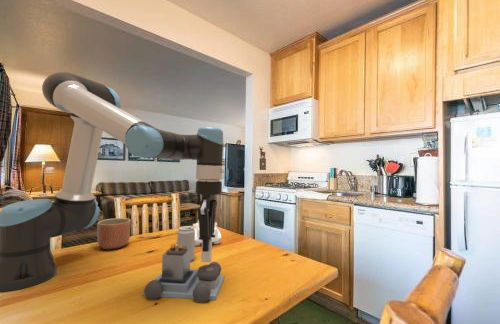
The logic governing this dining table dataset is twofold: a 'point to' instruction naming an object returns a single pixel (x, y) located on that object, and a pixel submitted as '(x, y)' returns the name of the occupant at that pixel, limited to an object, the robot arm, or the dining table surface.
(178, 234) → the beverage can
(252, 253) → the dining table surface
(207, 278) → the spare wheel
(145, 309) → the dining table surface
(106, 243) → the planter
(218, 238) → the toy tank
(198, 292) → the chassis
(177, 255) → the twin lamp box
